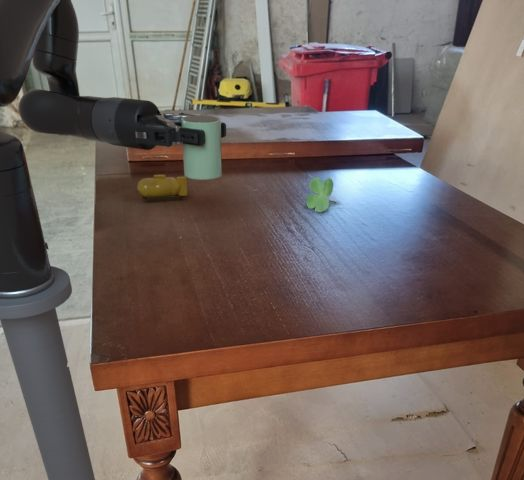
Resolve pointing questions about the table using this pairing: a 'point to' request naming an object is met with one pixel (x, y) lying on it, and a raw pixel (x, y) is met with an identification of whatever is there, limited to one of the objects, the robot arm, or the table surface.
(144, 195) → the yellow toy submarine
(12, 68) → the robot arm
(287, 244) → the table surface
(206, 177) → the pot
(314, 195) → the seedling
